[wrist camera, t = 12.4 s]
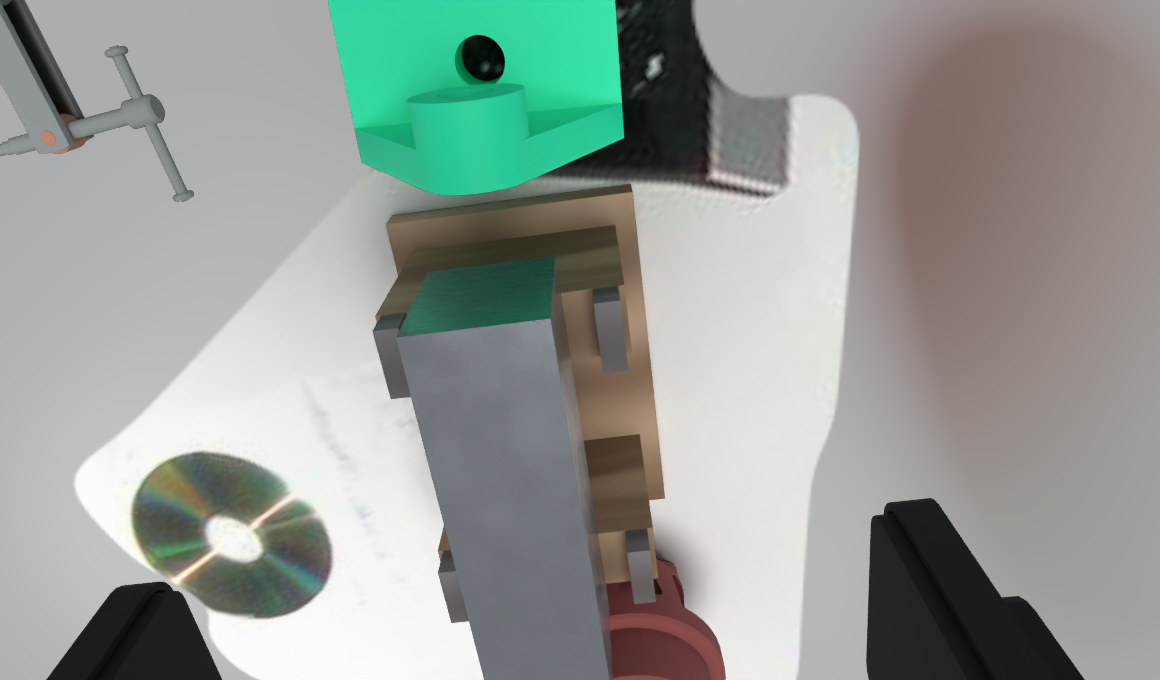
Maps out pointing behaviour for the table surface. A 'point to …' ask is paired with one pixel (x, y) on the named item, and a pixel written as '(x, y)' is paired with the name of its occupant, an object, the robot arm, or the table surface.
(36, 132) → the clamp
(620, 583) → the mechanical component
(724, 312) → the table surface
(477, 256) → the rack
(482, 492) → the matte grey brick
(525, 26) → the camera mount
